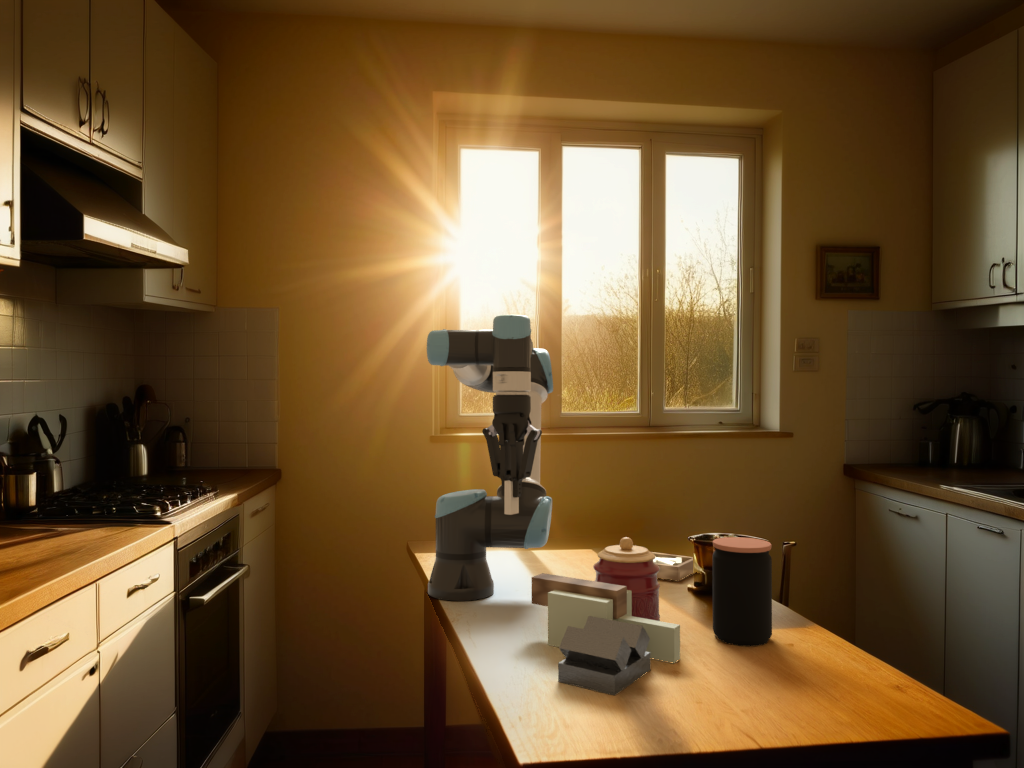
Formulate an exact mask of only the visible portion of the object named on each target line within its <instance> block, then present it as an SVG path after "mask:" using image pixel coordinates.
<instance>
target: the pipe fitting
mask: <svg viewBox="0 0 1024 768" xmlns="http://www.w3.org/2000/svg"><path fill="white" fill-rule="evenodd" d="M653 561H654V563H658V564H666V565H673V566H677V565H679V564H681V563H682V558H681V557H676V558H657V557H655V559H654V560H653Z"/></svg>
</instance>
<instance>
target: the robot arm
mask: <svg viewBox="0 0 1024 768" xmlns="http://www.w3.org/2000/svg"><path fill="white" fill-rule="evenodd" d="M531 334H532V328H531V318H529V316H527V315H525V314H524V315H523V314H502V315H501V314H500V315H496V316H495V317H494V318H493V322H492V329H444V328H443V329H439V330H438V329H437V330H431V331H429V332H428V334H427V339H426V357H427V361H428V363H429V364H430V365H431V366H440V367H444V366H446V367H447V366H448V367H449V368H450V369H452V370H453V374H454V376H455V378H456V379H457V381H459V383H461V384H463V385H464V386H465V387H469V388H471V389H473V390H476V391H480V392H484V393H491V394H494V395H493V396H492V412H493V415H494V417H493V418H492V421H491V425H489V426H488V427H485V428H483V429H482V430H481V432H482V434H483V436H484V438H485V440H486V444H487V451H488V455H489V461H490V466H491V472H492V475H493V477H497V478H499V479H500V481H501V484H500V485H499V486H498V488H497V489H496V495H495V496H493V495H492V496H490V495H488V493H487V491H486V490H485V489H482V488H479V489H466V490H465V489H464V490H459V491H454V492H449V493H446V494H443V495H440V496H439V497H438V498H437V500H436V502H435V503H436V505H435V515H434V519H435V560H434V564H433V566H432V569H431V573H430V577H429V580H428V583H427V594H428V595H429V596H430V597H431V598H434V599H437V600H444V601H453V602H455V601H457V602H458V601H460V602H463V601H474V600H481V599H485V598H488V597H490V596H492V595H493V594H494V592H495V590H494V588H495V586H494V585H495V584H494V580H493V577H492V574H491V570H490V567H489V563H488V561H487V548H493V549H494V548H496V549H499V548H500V549H501V548H502V549H503V548H504V549H507V548H508V549H525V550H528V549H536V548H542V547H544V546H545V545H547V542H548V539H549V534H550V530H551V529H550V528H551V524H552V523H551V522H552V512H553V498H552V497H551V496H548V495H547V489H546V488H545V487H544V486H543V485H542V484H541V452H542V451H541V449H542V445H541V444H542V438H541V437H542V434H543V431H542V404H543V403H544V402H546V400H547V399H548V397H549V396H548V395H549V394H551V393H553V392H554V380H553V371H552V369H553V368H552V360H551V356H550V353H549V351H548V350H547V349H545V348H535V347H534V343H533V339H532V338H531V337H532V336H531Z"/></svg>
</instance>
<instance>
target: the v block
mask: <svg viewBox="0 0 1024 768" xmlns="http://www.w3.org/2000/svg"><path fill="white" fill-rule="evenodd" d="M649 640H650V638H649V636H648V634H647V632H646V631H645V629H644V627H643V626H641V625H636V624H630V623H625V622H620V621H614V620H609V619H603V618H598V617H593V616H588V619H587V621H586V624H585V627H584V629H581V628H576V627H571V626H568V627H567V629H566V632H565V634H564V637H563V639H562V642H561V644H560V646H559V647H558V649H559V651H560V652H561V653H562V655H563V656H564V657H565V659H562V660H561V661H559V662H558V664H557V665H558V666H557V667H558V670H557V671H558V673H557V676H558V678H557V679H558V680H557V682H558V683H562V684H566V685H570V686H575V687H579V688H583V689H587V690H590V691H594V692H595V691H596V692H599V693H603V694H606V695H611V696H616V695H618V694H619V693H621V692H622V691H624V690H625V689H626V688H627V687H629V686H630V685H632V684H634V683H635V682H636V681H638V680H639V679H641V678H642V677H643V676H644V675H643V674H645V673H646V672H648V671H649V670H650V671H651V659H650V652H647V651H646V649H647V646H648V643H649ZM650 671H649V672H650ZM649 672H648V673H649ZM646 674H647V673H646ZM646 674H645V675H646ZM642 675H643V676H642ZM641 676H642V677H641ZM638 678H639V679H638ZM637 679H638V680H637ZM635 680H636V681H635ZM634 681H635V682H634Z"/></svg>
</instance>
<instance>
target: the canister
mask: <svg viewBox="0 0 1024 768" xmlns="http://www.w3.org/2000/svg"><path fill="white" fill-rule="evenodd" d="M651 552H652V551H650V550H649V549H648V548H647V547H645V546H639V545H634V542H633V539H631V538H630V537H627V536H625V537H622V538H620V541H619V544H615V545H608V546H606V547H604V549H602V550H601V551H599V552H598V553H597V557H598V558H599V561H597V562H596V563H594V564H593V566H592V567H593V570H594V571H595V580H594V581H596V582H603V583H609V584H615V585H622V586H627V590H630V591H632V616H634V617H639V618H645V619H651V620H656V621H661V620H660V618H661V616H660V587H661V585H660V583H659V582H658V579H657V573H658V572H659V570H660V568H659V566H658V565H656V564H655V563H654V561H653V560H654V559H655V555H654V554H653V553H651Z"/></svg>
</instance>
